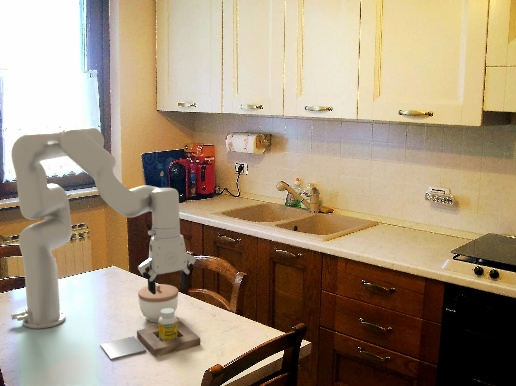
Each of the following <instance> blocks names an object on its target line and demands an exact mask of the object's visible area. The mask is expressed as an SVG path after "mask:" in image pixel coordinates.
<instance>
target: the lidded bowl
mask: <svg viewBox="0 0 516 386" xmlns="http://www.w3.org/2000/svg"><path fill="white" fill-rule="evenodd" d="M137 295H138V304H139V309H140V311H141V314H142V315H143V316H144V317H145V318H146V319H147V320H148V321H149V322H152V323H159V318H160V317H161V315H160V314H161V310H162V309H165V308H172V309H174V313H176V310H177V308H178V302H179V289H178V288H177V287H176V286H173V285H171V284H165V283H163V284H162V283H161V284H160V283H159V284H156V294H154V295H153V294H152V293H151V292H150V291H149V290H148V285H147V286H144V287H142V288H140V289H139V290H138V292H137Z"/></svg>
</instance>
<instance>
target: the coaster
mask: <svg viewBox="0 0 516 386" xmlns="http://www.w3.org/2000/svg"><path fill="white" fill-rule="evenodd" d="M99 345H100V346H99V347H100V348H101V349H102V351H103V352H104V354H105V355H106V356H107V357H108V359H109V360H110V361H111V362H113V361H116V360H119V359H123V358H124V359H125V358H127V357H131V356H135V355H139V354H143V353H146V352H147V348H146V347H145V346H144V345H143V344H142V343H140V342H139V339H138V338H137V337H135V336H130V337H125V338H120V339H117V340H112V341H107V342H104V343H100V344H99Z"/></svg>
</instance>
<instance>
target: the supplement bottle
mask: <svg viewBox="0 0 516 386" xmlns="http://www.w3.org/2000/svg"><path fill="white" fill-rule="evenodd" d="M175 313H176V312H174V309H172V308H165V309H162V310H161V314H160V315H161V317H160V318H159V322H158V326H159V338H158V339H159V340H160V341H161V342H162V341H166V340H170V339H174V338H178V337H177V321H178V318H177V316H176V315H175Z"/></svg>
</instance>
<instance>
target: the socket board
mask: <svg viewBox="0 0 516 386" xmlns="http://www.w3.org/2000/svg"><path fill="white" fill-rule="evenodd" d="M136 339H137V340H138V341H140V342H141V344H142V346H143V347H144V348H145V349H146V350H148V351H149V352H150V353H151V355H152V356H153V355H154V356H156V357H159V356H158V355H160V356H162V354H164V355H167V354H166V353H168V354H171V353H170V352H172V353H175V351H176V352H180V351H184V350H188V349H191V348H194V347H199V346H201V337H200V336H199V335H198V334H196V333H195V332H194V331H193V330H192V329H190V328H189V326H187V325H186V324H185V323H184V322H183V321H181V320H177V338H174V339H170V340H166V341H162V342H161V341H160V340H159V325H155V326H151V327H146V328H142V329H137V330H136ZM154 356H153V357H154Z"/></svg>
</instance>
